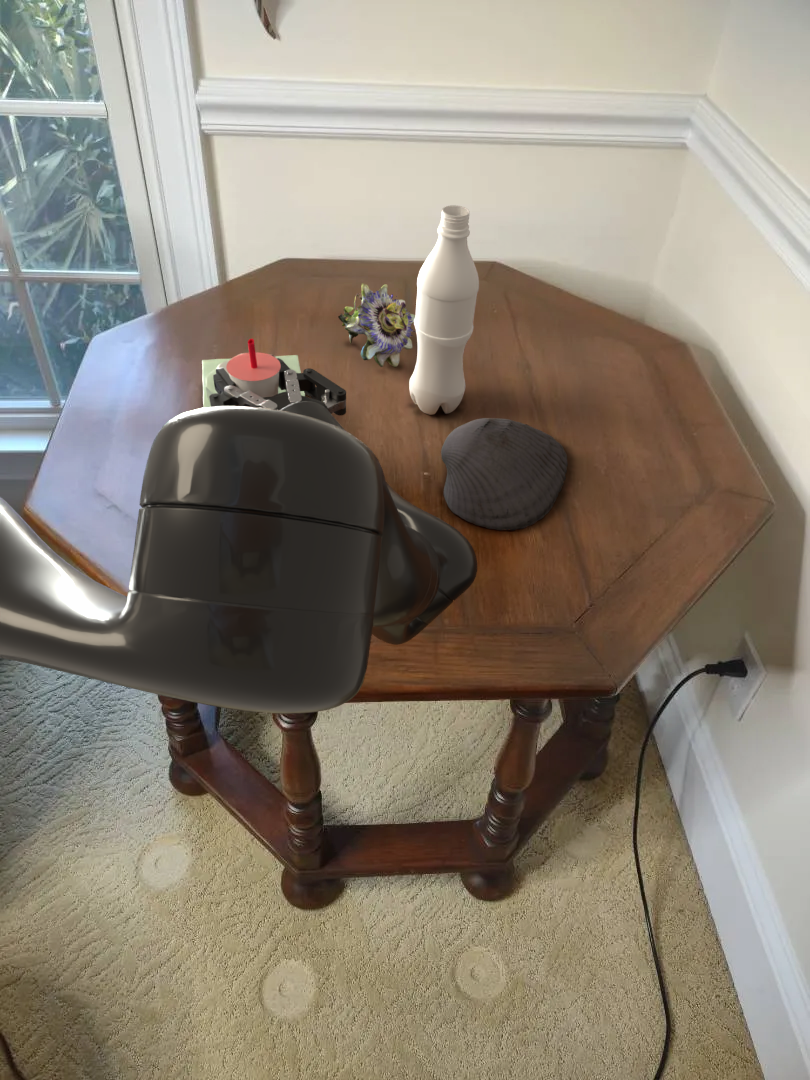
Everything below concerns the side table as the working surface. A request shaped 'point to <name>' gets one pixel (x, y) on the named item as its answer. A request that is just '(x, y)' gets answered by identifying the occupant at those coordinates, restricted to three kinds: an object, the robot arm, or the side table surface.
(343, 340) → the side table surface
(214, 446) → the robot arm
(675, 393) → the side table surface
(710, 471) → the side table surface
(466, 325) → the water bottle
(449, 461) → the seashell
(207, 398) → the green button box
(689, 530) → the side table surface
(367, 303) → the passion flower
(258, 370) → the cup
